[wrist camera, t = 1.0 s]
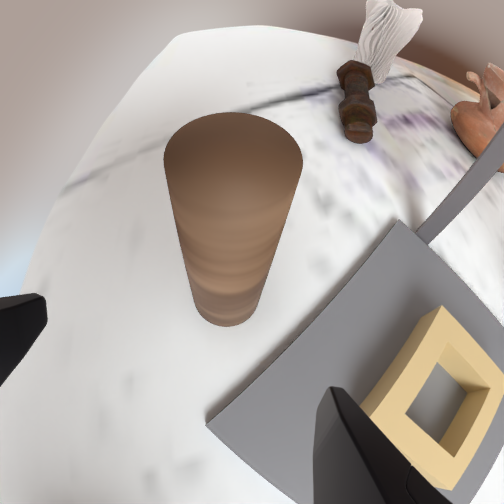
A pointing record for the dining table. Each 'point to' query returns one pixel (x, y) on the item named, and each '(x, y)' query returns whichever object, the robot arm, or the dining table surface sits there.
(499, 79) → the ceramic jug
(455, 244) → the dining table surface
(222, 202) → the walnut peg
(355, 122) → the bolt
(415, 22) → the shell sculpture
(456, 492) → the socket stand
